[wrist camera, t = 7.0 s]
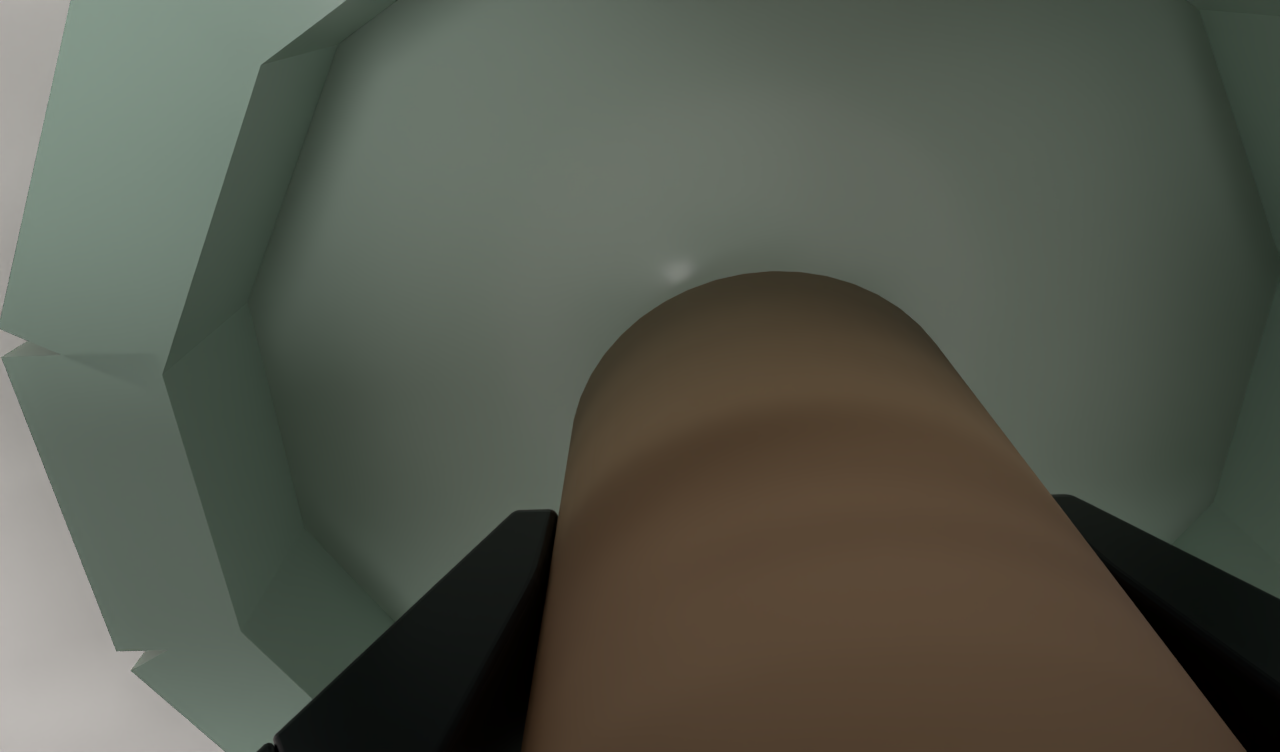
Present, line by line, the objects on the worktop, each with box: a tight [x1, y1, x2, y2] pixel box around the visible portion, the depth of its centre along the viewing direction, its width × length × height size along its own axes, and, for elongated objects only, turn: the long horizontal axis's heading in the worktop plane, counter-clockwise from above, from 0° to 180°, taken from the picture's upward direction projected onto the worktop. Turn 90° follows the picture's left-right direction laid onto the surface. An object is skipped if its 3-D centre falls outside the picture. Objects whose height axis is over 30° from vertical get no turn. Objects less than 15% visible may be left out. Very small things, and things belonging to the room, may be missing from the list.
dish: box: [0, 0, 1280, 752], centre depth 10 cm, size 15×15×3 cm
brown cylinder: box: [521, 271, 1247, 752], centre depth 7 cm, size 4×4×6 cm
